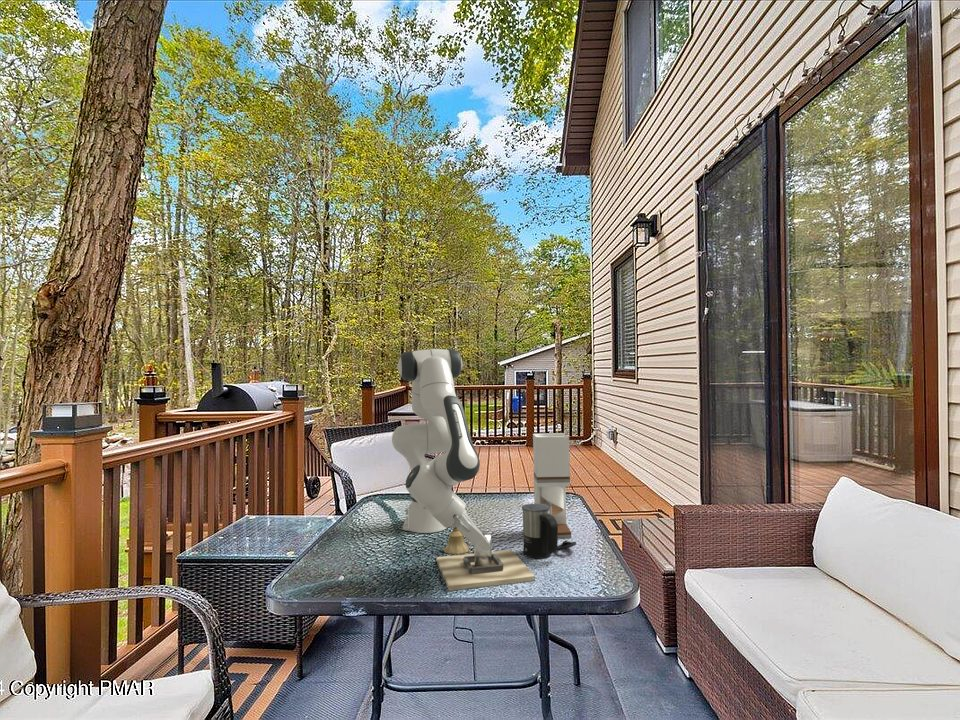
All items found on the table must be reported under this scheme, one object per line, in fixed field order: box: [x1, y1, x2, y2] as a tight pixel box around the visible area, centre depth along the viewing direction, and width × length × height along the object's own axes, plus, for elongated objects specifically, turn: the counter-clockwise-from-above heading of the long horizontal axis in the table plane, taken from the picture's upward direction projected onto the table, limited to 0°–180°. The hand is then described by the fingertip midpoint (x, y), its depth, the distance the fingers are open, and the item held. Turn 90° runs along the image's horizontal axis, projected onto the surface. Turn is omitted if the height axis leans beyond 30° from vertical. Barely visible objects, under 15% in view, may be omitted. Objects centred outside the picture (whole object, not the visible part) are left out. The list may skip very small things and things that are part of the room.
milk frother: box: [521, 503, 577, 559], centre depth 158 cm, size 14×16×15 cm
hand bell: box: [443, 527, 470, 556], centre depth 162 cm, size 8×8×16 cm
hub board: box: [436, 549, 536, 591], centre depth 144 cm, size 22×24×3 cm
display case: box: [532, 432, 572, 539], centre depth 178 cm, size 11×11×35 cm
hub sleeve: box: [473, 531, 492, 567], centre depth 144 cm, size 5×5×9 cm
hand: (484, 542), depth 145 cm, fingers open, 8 cm apart
